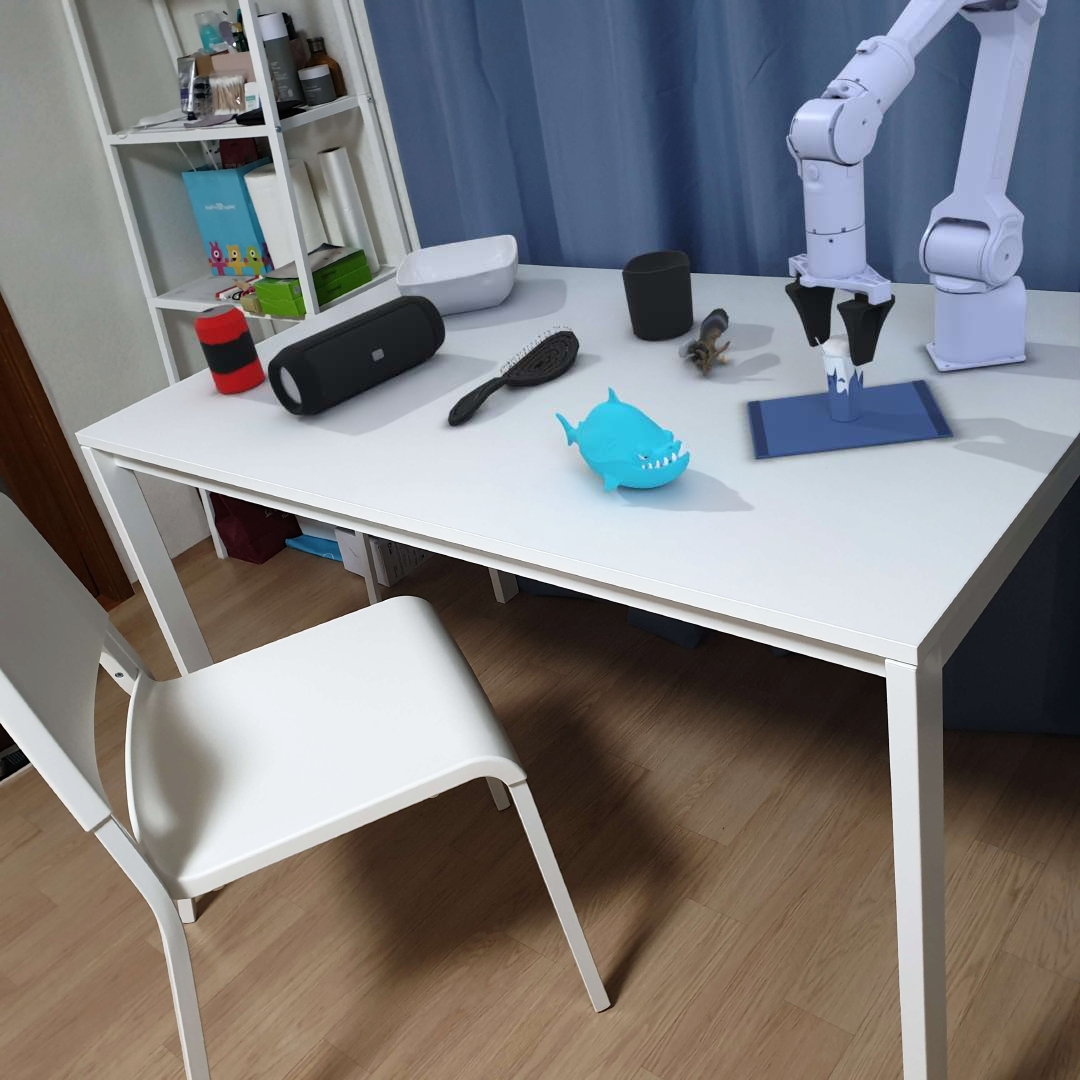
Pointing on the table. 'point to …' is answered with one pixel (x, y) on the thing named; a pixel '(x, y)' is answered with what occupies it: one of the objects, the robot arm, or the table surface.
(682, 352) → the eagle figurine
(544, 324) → the table surface
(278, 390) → the portable speaker
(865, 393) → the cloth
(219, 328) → the soda can
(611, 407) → the toy shark
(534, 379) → the hairbrush
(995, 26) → the robot arm
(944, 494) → the table surface
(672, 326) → the pen holder
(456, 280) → the bowl
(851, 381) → the milkshake
